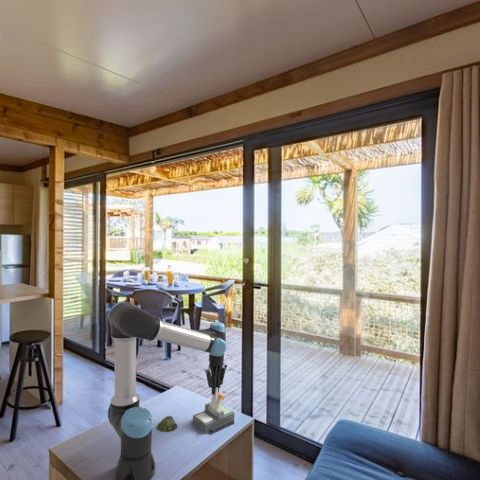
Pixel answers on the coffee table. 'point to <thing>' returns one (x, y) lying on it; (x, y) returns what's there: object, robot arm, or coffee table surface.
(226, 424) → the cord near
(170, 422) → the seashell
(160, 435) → the coffee table surface
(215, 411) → the lever
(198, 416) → the stepped grey box
